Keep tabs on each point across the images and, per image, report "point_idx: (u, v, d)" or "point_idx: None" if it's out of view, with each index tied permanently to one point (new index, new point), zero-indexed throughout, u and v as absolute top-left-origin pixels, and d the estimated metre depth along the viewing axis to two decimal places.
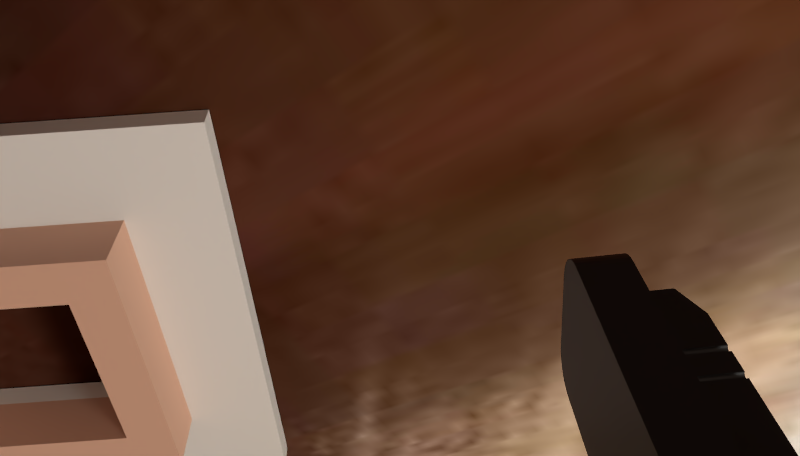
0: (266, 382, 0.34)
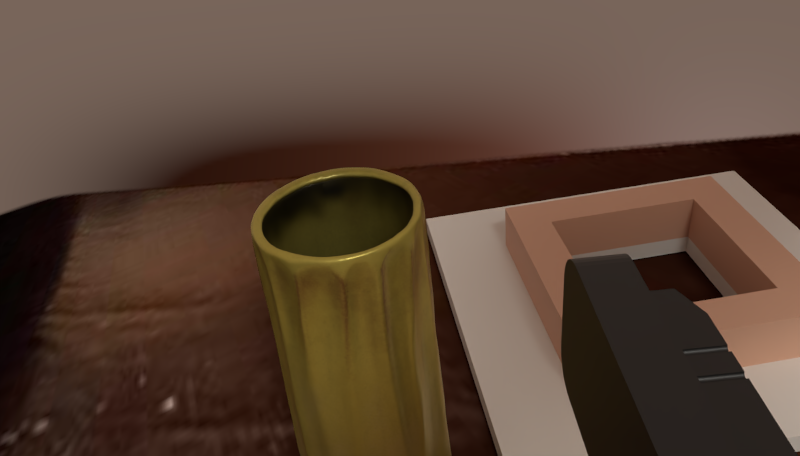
0: None
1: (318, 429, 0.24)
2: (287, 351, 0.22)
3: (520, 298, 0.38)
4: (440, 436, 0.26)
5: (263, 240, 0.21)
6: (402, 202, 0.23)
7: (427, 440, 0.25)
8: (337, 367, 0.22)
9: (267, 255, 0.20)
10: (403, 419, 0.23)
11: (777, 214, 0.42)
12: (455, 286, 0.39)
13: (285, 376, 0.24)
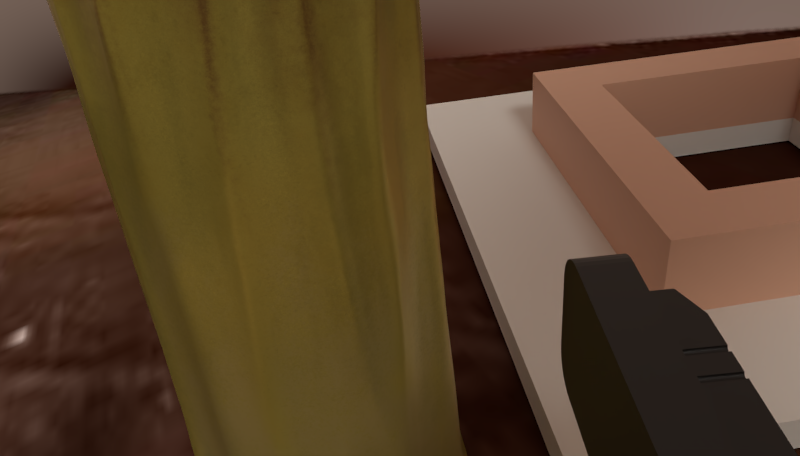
0: None
1: (179, 318, 0.11)
2: (95, 128, 0.10)
3: (557, 191, 0.26)
4: (435, 351, 0.13)
5: None
6: None
7: (409, 352, 0.12)
8: (195, 147, 0.09)
9: None
10: (356, 293, 0.11)
11: None
12: (461, 178, 0.27)
13: (118, 211, 0.12)
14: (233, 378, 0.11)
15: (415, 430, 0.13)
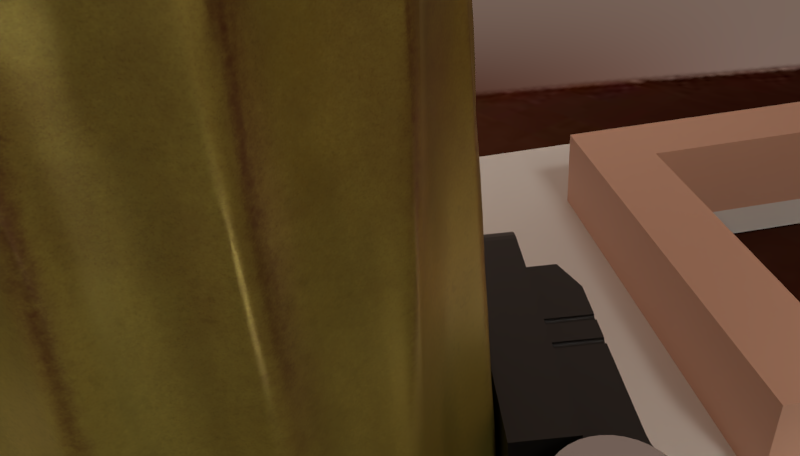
0: None
1: None
2: None
3: (605, 287, 0.21)
4: None
5: None
6: None
7: None
8: None
9: None
10: None
11: None
12: None
13: None
14: None
15: None
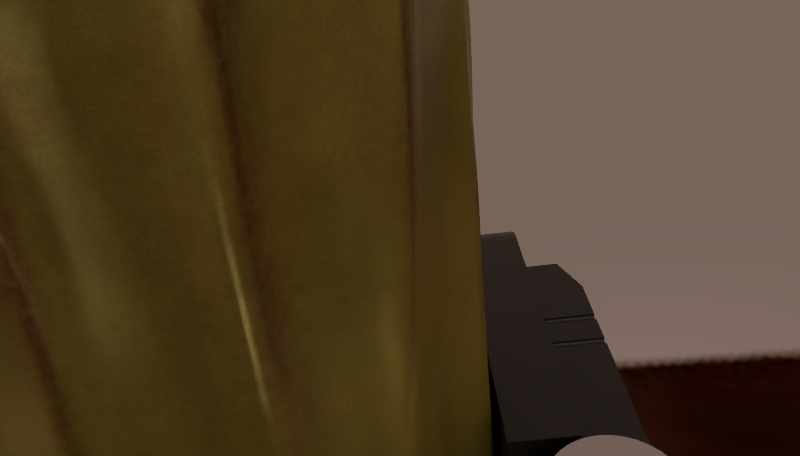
0: None
1: None
2: None
3: None
4: None
5: None
6: None
7: None
8: None
9: None
10: None
11: None
12: None
13: None
14: None
15: None
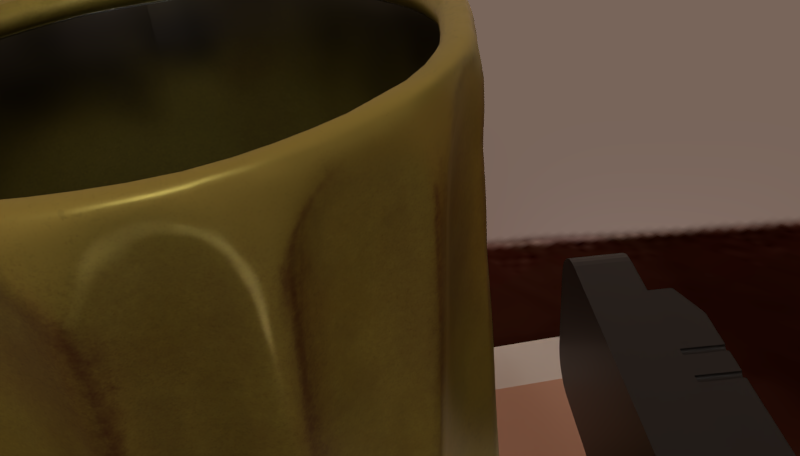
0: None
1: None
2: None
3: None
4: None
5: None
6: (396, 56, 0.07)
7: None
8: None
9: None
10: None
11: None
12: None
13: None
14: None
15: None
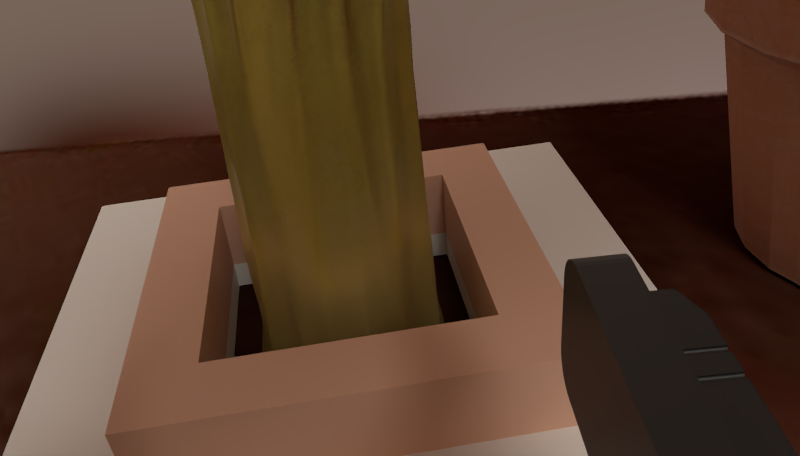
0: None
1: (261, 191, 0.19)
2: (219, 70, 0.17)
3: None
4: (419, 224, 0.21)
5: None
6: None
7: (402, 219, 0.20)
8: (281, 79, 0.17)
9: None
10: (370, 172, 0.18)
11: (585, 201, 0.29)
12: (73, 305, 0.26)
13: (221, 127, 0.19)
14: (294, 228, 0.19)
15: (406, 276, 0.21)
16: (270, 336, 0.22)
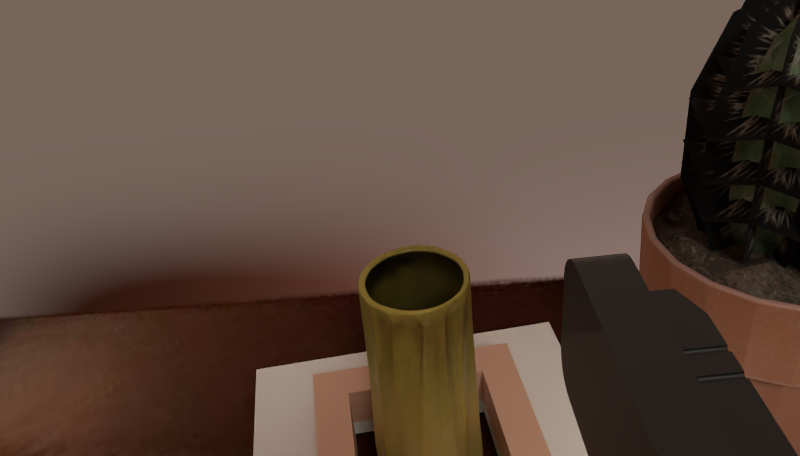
0: None
1: (395, 421, 0.35)
2: (379, 369, 0.34)
3: None
4: (475, 427, 0.37)
5: (369, 298, 0.32)
6: (453, 269, 0.35)
7: (467, 429, 0.36)
8: (413, 379, 0.33)
9: (372, 308, 0.32)
10: (453, 414, 0.35)
11: None
12: (260, 452, 0.42)
13: (372, 385, 0.36)
14: (412, 440, 0.35)
15: (468, 455, 0.37)
16: None
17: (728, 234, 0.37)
